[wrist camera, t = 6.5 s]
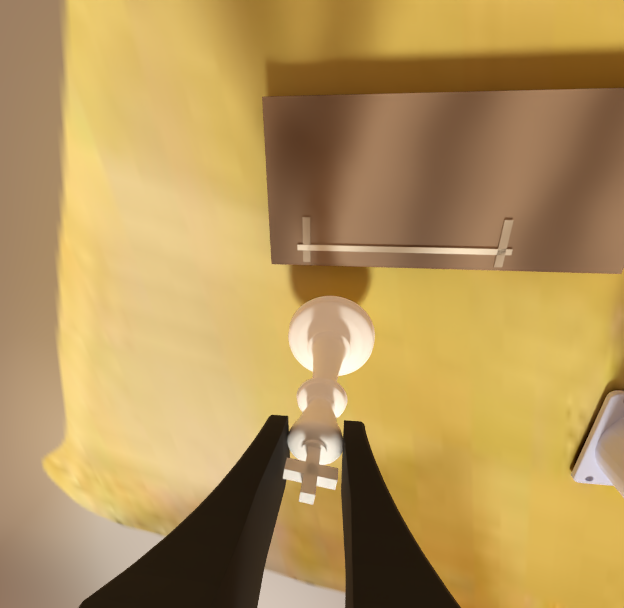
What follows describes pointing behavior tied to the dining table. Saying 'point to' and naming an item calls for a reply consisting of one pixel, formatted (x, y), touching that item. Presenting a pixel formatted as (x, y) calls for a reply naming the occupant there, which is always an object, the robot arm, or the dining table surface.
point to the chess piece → (324, 385)
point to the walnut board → (448, 180)
